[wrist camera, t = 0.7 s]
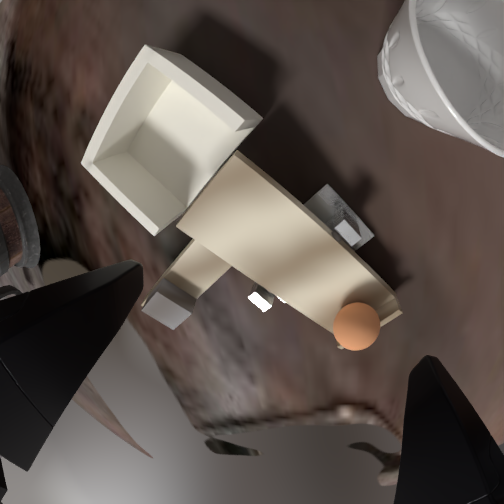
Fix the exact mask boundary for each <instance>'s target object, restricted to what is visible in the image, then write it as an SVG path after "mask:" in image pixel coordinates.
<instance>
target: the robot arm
mask: <svg viewBox="0 0 504 504" xmlns="http://www.w3.org/2000/svg"><path fill="white" fill-rule="evenodd" d="M142 290H143V266H142V264H141V263H139V262H136V261H134V260H127V261H123V262H120V263H117V264H113V265H110V266H107V267H104V268H100V269H97V270H94V271H91V272H87V273H84V274H81V275H78V276H75V277H71V278H68V279H65V280H62V281H59V282H56V283H53V284H50V285H47V286H44V287H40V288H37V289H34V290H31V291H30V292H25V293H22V294H19V295H16V296H13V297H10V298H7V299H4V300H0V504H2V503H1V500H2V498H3V496H4V495H5V493H6V492H7V486H6V482H5V477H4V472H3V468H2V462H1V457H4V458H5V459H7V460H8V461H10V462H12V463H13V464H15V465H17V466H18V467H20V468H22V469H24V470H25V471H28V470H29V469H30V467H31V465H32V463H33V462H34V460H35V458H36V456H37V455H38V453H39V451H40V449H41V448H42V446H43V444H44V443H45V441H46V439H47V438H48V436H49V434H50V433H51V431H52V429H53V427H54V426H55V424H56V422H57V421H58V419H59V418H60V416H61V414H62V413H63V411H64V409H65V408H66V407H67V405H68V404H69V402H70V400H71V399H72V397H73V396H74V394H75V393H76V391H77V390H78V388H79V387H80V385H81V384H82V382H83V381H84V379H85V378H86V376H87V375H88V373H89V372H90V370H91V369H92V367H93V366H94V365H95V363H96V362H97V360H98V358H99V357H100V356H101V355H102V353H103V352H104V350H105V349H106V348H107V346H108V345H109V344H110V342H111V341H112V339H113V338H114V337H115V335H116V334H117V332H118V331H119V329H120V327H121V326H122V325H123V323H124V321H125V319H126V318H127V316H128V314H129V312H130V311H131V309H132V307H133V306H134V304H135V302H136V301H137V299H138V297H139V296H140V294H141V292H142ZM394 504H504V455H503V453H502V452H501V450H500V448H499V447H498V445H497V444H496V442H495V440H494V439H493V437H492V436H491V435H490V432H489V431H488V429H487V428H486V426H485V424H484V423H483V421H482V420H481V418H480V417H479V415H478V414H477V412H476V411H475V409H474V408H473V406H472V405H471V403H470V402H469V401H468V399H467V398H466V396H465V395H464V393H463V392H462V391H461V389H460V388H459V386H458V385H457V384H456V382H455V381H454V379H453V378H452V377H451V375H450V374H449V373H448V371H447V370H446V369H445V367H444V366H443V365H442V363H441V362H440V361H439V359H438V358H437V357H434V356H430V355H426V356H424V357H423V358H422V359H421V360H420V362H419V363H418V364H417V365H416V366H415V367H414V368H413V370H412V371H411V373H410V375H409V381H408V391H407V399H406V407H405V415H404V425H403V439H402V450H401V460H400V468H399V475H398V482H397V488H396V494H395V499H394Z"/></svg>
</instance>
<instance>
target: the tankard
mask: <svg viewBox="0 0 504 504" xmlns="http://www.w3.org/2000/svg"><path fill="white" fill-rule="evenodd" d="M39 258H40V240H39V234H38V228H37V224H36V220H35V217H34V213H33V210H32V207H31V204H30V202H29V199H28V197H27V194H26V192H25V190H24V188H23V186H22V184H21V182H20V181H19V179H18V178H17V176H16V175H15V174H14V172H13V171H12V170H11V169H9V168H8V167H7V166H4V165H1V166H0V276H2V275H3V274H4V273H6V272H7V271H8V269H9V268H10V267H12V266H13V265H14V266H17V267H27V268H33V267H35V266H36V265H37V264H38V261H39ZM10 294H16V295H19V294H22V292H20V291H19V290H18V289H17V288H15V287H13V286H10V285H8V286H3V287H0V299H1V298H3V297H5V296H7V295H10Z"/></svg>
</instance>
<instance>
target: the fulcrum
mask: <svg viewBox="0 0 504 504" xmlns="http://www.w3.org/2000/svg"><path fill="white" fill-rule="evenodd" d="M304 206H305V207H306V208H308V209H309V210H310V211H311V212H312V213H313V214H314V215H315V216H317V217H318V218H319V219H320V220H321V221H322V222H323V223H324V224H325V225H326V226H328V227H329V228H330V229H331V230H332V231H334V230H335V231H337V232H338V233H339V235H340V236H341V238H342V240H343V241H344V242H345V243H346V244H347V245H348V246H349V247H350V248H351V249H352V250H353V251H354V252H355V251H356V250H357V249H359V248H360V247H361V246H362V245H364V244H365V243H366V242H367V241H369V240H370V239H371V238H372V237H374V234H373V233H372V232H371V230H370V229H369V228H368V227H367V226H366V225H365V223H364V222H363V221H362V220H361V219H360V218H359V217H358V215H357V214H356V213H355V212H354V211H353V210H352V209H351V208H350V207H349V206H348V204H347V203H346V202H345V201H344V200H343V199H342V198H341V197H340V196H339V195H338V194H337V193H336V192H335V190H334V189H333V188H332V187H331V186H330V185H329V184H328V183H327V184H325V185H324V186H323V187H322V188H321V189H320V190H319V191H318V192H317V193H316V194H314V195H313V196H312V197H311V198H310V199H309V200H308V201H307V202H306V203H305V204H304ZM274 297H275V295H274V294H270V293H269V292H268V291H267V290H266V289H265V288H264V287H262V286H261V285H259V284H258V283H256V282H255V283H254V285H253V287H252V290H251V292H250V294H249V297H248V298H249V299H250V300H251V301H252V302H253V303H254V304H256V305H257V306H258V307H259V308H260V309H262V310H263V311H266V310H267V309H269V308H270V307H271V306H272V303H273V300H274ZM278 298H279V297H278ZM279 299H280V298H279ZM280 300H282V299H280ZM282 301H283V300H282ZM283 302H284V303H286V302H285V301H283Z"/></svg>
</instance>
